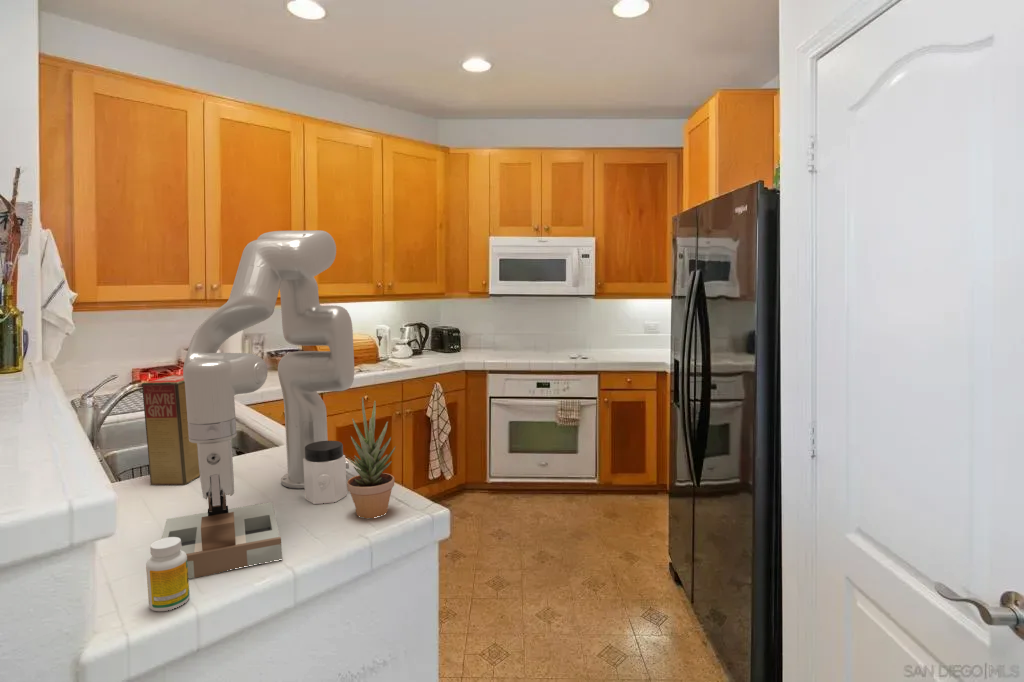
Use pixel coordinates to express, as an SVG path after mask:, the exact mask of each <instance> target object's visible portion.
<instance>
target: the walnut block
mask: <svg viewBox="0 0 1024 682" xmlns="http://www.w3.org/2000/svg"><path fill="white" fill-rule="evenodd" d="M201 539H202V551H205V550H210V549H216V548H221V547H227V546H232V545H236V540H235V524H234V512H230V513H224V514H218V515H212V516H205V517H202V520H201Z"/></svg>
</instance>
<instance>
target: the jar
mask: <svg viewBox="0 0 1024 682" xmlns="http://www.w3.org/2000/svg"><path fill="white" fill-rule="evenodd" d="M345 461H346V455H345V454H344V445H343V443H342V442H341V441H337V440H328V441H319V442H314V443H311V444H308V445H306V446H305V458H304V459H303V465H304V485H305V488H304V498H305V500H307V501H308V502H310V503H311V504H312V505H313V504H314V505H324V504H332V503H333V504H335V503H337V502H338V501H340V500H342V499H343V498H344V497H346V496H347V495H348V489H347V469H346V462H345ZM334 502H335V503H334ZM323 503H324V504H323Z"/></svg>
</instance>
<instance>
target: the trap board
mask: <svg viewBox="0 0 1024 682" xmlns="http://www.w3.org/2000/svg"><path fill="white" fill-rule="evenodd" d="M274 508H275V507H274V504H273V501H270V502H264V503H260V504H259V503H258V504H252V505H251V504H250V505H246V506H240V507H234V508H233V507H231V508H228V513H230V512H234V524H235V540H236V545H232V546H227V547H221V548H216V549H210V550H205V551H202V539H201V520H202V517H205V516H208V511H207V512H201V513H196V514H189V515H183V516H177V517H176V516H175V517H170V518H169V517H168V518H166V519H165V523H164V528H163V531H162V535H161V539H163V538H168V537H178V538H180V539H181V545H182V547H181V549H180V550H182V551H184V552H185V553H186V555H187V563H188V580H191V579H190V578H192V579H196V577H197V578H200V577H201V576H202V577H205V576H206V575H207V576H211V574H212V575H215V574H214V573H217V574H220V573H219V572H222V573H224V572H223V571H227V570H230V569H235V568H239V567H244V566H249V565H254V564H259V563H265V562H270V561H274V560H279V559H282V560H283V552H282V537H281V536H280V532H279V527H278V522H277V518H276V513H275V509H274ZM227 572H228V571H227Z"/></svg>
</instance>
